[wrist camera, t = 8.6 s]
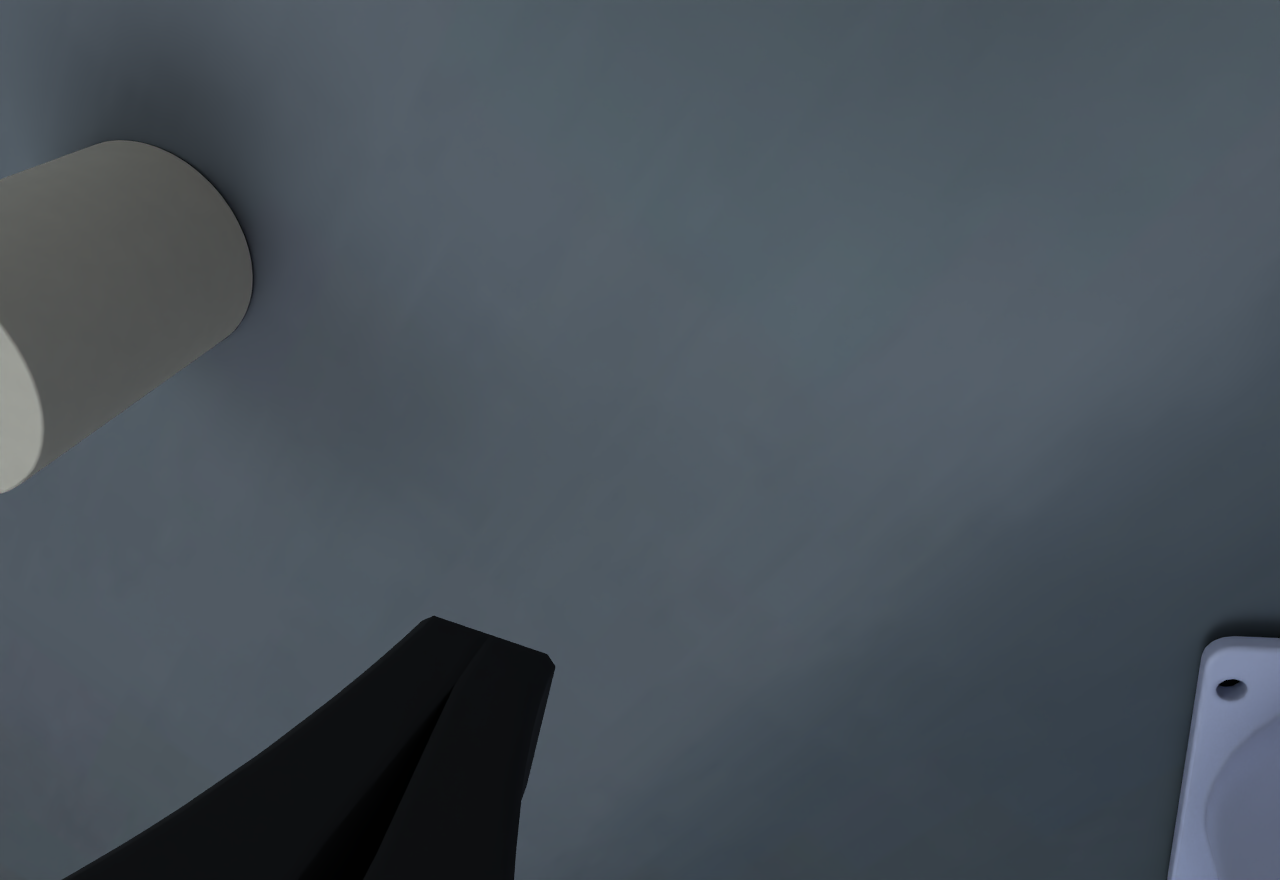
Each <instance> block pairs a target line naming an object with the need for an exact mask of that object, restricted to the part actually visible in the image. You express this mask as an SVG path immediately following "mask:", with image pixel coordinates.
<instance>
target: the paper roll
mask: <svg viewBox="0 0 1280 880" xmlns="http://www.w3.org/2000/svg"><path fill="white" fill-rule="evenodd" d="M252 282H253V274H252V263H251V258H250V253H249V249H248V246H247V242H246V239H245V236H244V234H243V232H242V229H241V227H240V225H239V223H238V221H237V219H236V217H235V216H234V214H233V212H232V210H231V209H230V207H229V206H228V204H227V203H226V201H225V200H224V199H223V197H222V196H221V195H220V193H219V192H218V191H217V190H216V189H215V188H214V187H213V185H212V184H211V183H210V182H209V181H208V180H207V179H206V178H205V177H203V176H202V175H201V174H200V173H199V172H198V171H197V170H195V169H194V168H193V167H191V166H190V165H189V164H188V163H186V162H185V161H183V160H181V159H180V158H178V157H176V156H175V155H173V154H171V153H169V152H167V151H165V150H163V149H160V148H158V147H155V146H152V145H149V144H145V143H140V142H135V141H126V140H115V141H106V142H102V143H99V144H95V145H92V146H90V147H87V148H84V149H82V150H79V151H76V152H73V153H71V154H68V155H65V156H63V157H60V158H57V159H54V160H52V161H49V162H46V163H44V164H41V165H38V166H35V167H33V168H30V169H27V170H25V171H22V172H19V173H16V174H14V175H11V176H8V177H6V178H3V179H0V494H1V493H4V492H7V491H10V490H12V489H13V488H15V487H17V486H19V485H20V484H22V483H23V482H24V481H26V480H27V479H29V478H30V477H31V476H33V475H34V474H36V473H37V472H38V471H40V470H41V469H43V468H44V467H46V466H47V465H48V464H50V463H51V462H53V461H54V460H55V459H57V458H58V457H60V456H61V455H62V454H64V453H65V452H67V451H68V450H69V449H71V448H72V447H74V446H75V445H76V444H78V443H79V442H81V441H82V440H83V439H85V438H86V437H88V436H89V435H90V434H92V433H93V432H95V431H96V430H97V429H99V428H100V427H102V426H103V425H104V424H106V423H107V422H109V421H110V420H112V419H113V418H114V417H116V416H117V415H119V414H120V413H121V412H123V411H124V410H126V409H127V408H128V407H130V406H131V405H133V404H134V403H135V402H137V401H138V400H140V399H141V398H142V397H144V396H145V395H147V394H148V393H149V392H151V391H152V390H154V389H155V388H156V387H158V386H159V385H161V384H162V383H163V382H165V381H166V380H168V379H169V378H170V377H172V376H173V375H175V374H176V373H178V372H179V371H180V370H182V369H183V368H185V367H186V366H187V365H189V364H190V363H192V362H193V361H194V360H196V359H197V358H199V357H200V356H201V355H203V354H204V353H206V352H207V351H208V350H210V349H211V348H213V347H214V346H215V345H217V344H218V343H220V342H221V341H222V340H224V339H225V338H226V337H228V336H229V335H230V334H231V333H232V332H233V331H234V330H235V329H236V328H237V326H238V325H239V324H240V323H241V321H242V319H243V317H244V315H245V314H246V311H247V308H248V305H249V303H250V298H251V293H252Z"/></svg>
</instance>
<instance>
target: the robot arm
mask: <svg viewBox="0 0 1280 880" xmlns="http://www.w3.org/2000/svg"><path fill="white" fill-rule="evenodd" d="M554 670H555V665H554V664H553V662H552V661H551V659H550V658H549V656H548V655H547V654H545V653H542V652H539V651H536V650H533V649H530V648H527V647H524V646H521V645H519V644H516V643H513V642H510V641H507V640H504V639H501V638H498V637H495V636H492V635H489V634H486V633H483V632H480V631H477V630H474V629H471V628H468V627H465V626H462V625H460V624H457V623H454V622H451V621H448V620H445V619H442V618H439V617H436V616H432V617H430V618H428V619H425V620H423V621H421V622H420V623H419V624H418V625H417V626H416V627H415V628H414V629H413V630H412V631H411V632H410V633H408V634H407V635H406V636H405V637H404V638H403V639H402V640H401V641H400V642H398V643H397V644H396V645H395V646H394V647H393V648H392V649H391V650H389V651H388V652H387V653H386V654H385V655H384V656H383V657H381V658H380V659H379V660H378V661H377V662H376V663H374V664H373V665H372V666H371V667H370V668H369V669H367V670H366V671H365V672H364V673H363V674H361V675H360V676H359V677H358V678H356V679H355V680H354V681H353V682H352V683H350V684H349V685H348V686H347V687H345V688H344V689H343V690H342V691H341V692H339V693H338V694H337V695H336V696H334V697H333V698H332V699H331V700H329V701H328V702H327V703H326V704H324V705H323V706H322V707H320V708H319V709H318V710H316V711H315V712H314V713H312V714H311V715H310V716H309V717H307V718H306V719H305V720H303V721H302V722H301V723H299V724H298V725H297V726H295V727H294V728H293V729H292V730H290V731H289V732H288V733H286V734H285V735H284V736H282V737H281V738H280V739H278V740H277V741H276V742H275V743H273V744H272V745H271V746H269V747H268V748H266V749H265V750H264V751H262V752H261V753H260V754H258V755H257V756H255V757H254V758H253V759H251V760H250V761H248V762H247V763H245V764H244V765H242V766H241V767H239V768H238V769H237V770H235V771H234V772H232V773H231V774H229V775H228V776H226V777H225V778H223V779H222V780H221V781H219V782H218V783H216V784H215V785H213V786H212V787H210V788H209V789H207V790H206V791H204V792H203V793H202V794H200V795H199V796H197V797H196V798H194V799H193V800H191V801H190V802H188V803H187V804H186V805H184V806H183V807H181V808H179V809H178V810H176V811H175V812H173V813H172V814H170V815H169V816H167V817H165V818H164V819H162V820H161V821H159V822H158V823H156V824H154V825H153V826H151V827H150V828H148V829H147V830H145V831H143V832H142V833H140V834H139V835H137V836H135V837H134V838H132V839H130V840H129V841H127V842H125V843H124V844H122V845H121V846H119V847H117V848H115V849H114V850H112V851H110V852H109V853H107V854H105V855H104V856H102V857H100V858H98V859H97V860H95V861H93V862H92V863H90V864H88V865H87V866H85V867H83V868H81V869H80V870H78V871H76V872H75V873H73V874H71V875H69V876H68V877H66V878H64V879H62V880H514V872H515V857H516V846H517V836H518V826H519V817H520V807H521V800H522V797H523V794H524V791H525V788H526V785H527V782H528V778H529V773H530V769H531V765H532V761H533V757H534V753H535V749H536V745H537V740H538V736H539V732H540V728H541V724H542V720H543V716H544V712H545V707H546V703H547V699H548V695H549V691H550V687H551V683H552V678H553V674H554ZM1230 679H1236V680H1240V682H1239V683H1237V684H1235V685H1234V686H1228V687H1223V686H1219V684H1220V683H1221V682H1223V681H1225V680H1230ZM1167 880H1280V638H1267V637H1245V636H1230V637H1222V638H1219V639H1217V640H1214V641H1212V642H1211V643H1210V644H1209V645H1208V646H1206V647H1205V649H1204V651H1203V653H1202V656H1201V662H1200V669H1199V675H1198V682H1197V688H1196V695H1195V701H1194V708H1193V714H1192V721H1191V727H1190V734H1189V740H1188V747H1187V753H1186V759H1185V766H1184V772H1183V779H1182V785H1181V792H1180V798H1179V805H1178V811H1177V818H1176V824H1175V831H1174V837H1173V844H1172V850H1171V857H1170V863H1169V870H1168V876H1167Z"/></svg>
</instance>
